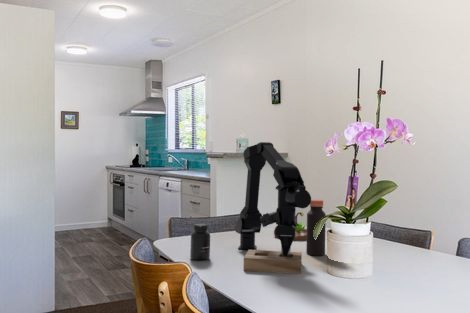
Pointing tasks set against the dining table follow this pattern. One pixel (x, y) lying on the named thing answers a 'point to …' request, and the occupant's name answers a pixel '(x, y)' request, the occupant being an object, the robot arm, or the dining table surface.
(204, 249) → the supplement bottle
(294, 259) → the peg board
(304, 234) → the plant
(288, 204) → the robot arm
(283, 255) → the peg
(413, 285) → the dining table surface
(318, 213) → the vinegar
